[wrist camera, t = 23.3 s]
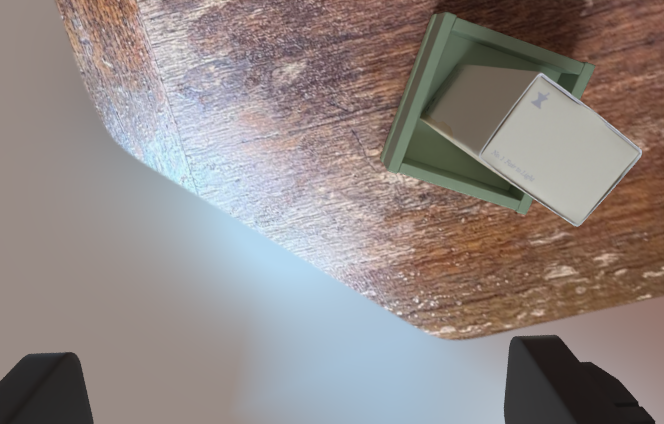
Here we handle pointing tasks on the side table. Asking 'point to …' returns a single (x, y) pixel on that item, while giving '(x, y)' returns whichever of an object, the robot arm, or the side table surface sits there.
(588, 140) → the cosmetic box
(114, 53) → the side table surface
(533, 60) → the green open storage bin
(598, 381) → the robot arm
